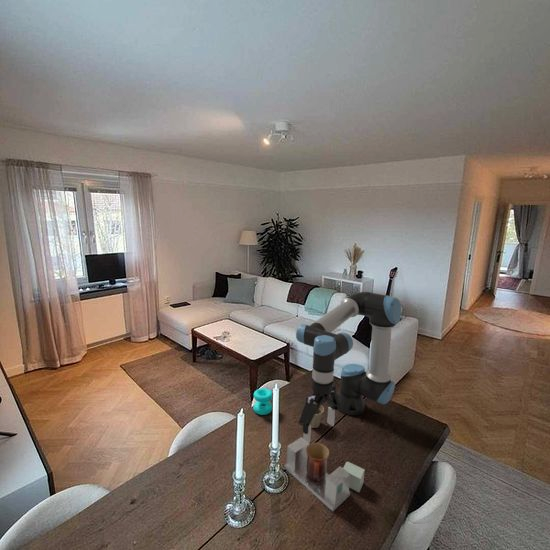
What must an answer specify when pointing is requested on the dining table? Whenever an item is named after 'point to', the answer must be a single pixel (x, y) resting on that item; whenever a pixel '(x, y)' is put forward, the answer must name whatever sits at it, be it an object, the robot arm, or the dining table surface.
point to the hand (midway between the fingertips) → (319, 431)
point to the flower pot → (317, 417)
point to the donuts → (263, 401)
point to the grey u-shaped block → (326, 490)
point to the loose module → (355, 476)
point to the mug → (316, 460)
